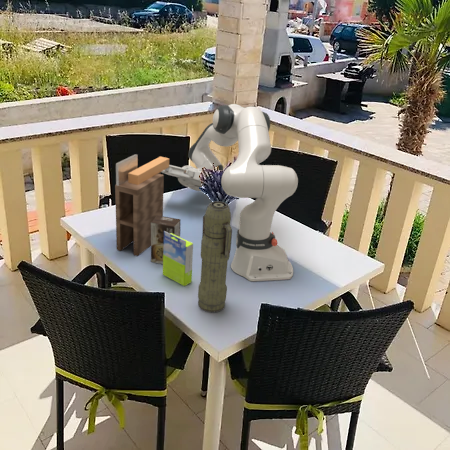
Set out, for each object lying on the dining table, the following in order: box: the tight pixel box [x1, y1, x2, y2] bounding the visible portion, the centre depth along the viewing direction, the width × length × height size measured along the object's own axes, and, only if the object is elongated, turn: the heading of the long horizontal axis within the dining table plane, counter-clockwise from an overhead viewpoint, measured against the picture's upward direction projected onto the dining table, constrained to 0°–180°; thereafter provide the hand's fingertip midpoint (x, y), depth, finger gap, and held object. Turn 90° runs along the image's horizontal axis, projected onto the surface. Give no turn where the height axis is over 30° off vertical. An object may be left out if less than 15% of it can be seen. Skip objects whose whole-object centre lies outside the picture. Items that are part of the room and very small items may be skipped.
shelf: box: [114, 173, 165, 257], centre depth 192 cm, size 18×9×26 cm, turn 156°
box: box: [162, 231, 194, 287], centre depth 174 cm, size 10×4×17 cm, turn 51°
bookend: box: [115, 153, 139, 186], centre depth 184 cm, size 12×1×8 cm, turn 156°
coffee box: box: [150, 215, 181, 265], centre depth 185 cm, size 9×6×16 cm
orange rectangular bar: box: [128, 156, 170, 185], centre depth 191 cm, size 22×4×4 cm, turn 156°
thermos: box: [197, 200, 233, 313], centre depth 158 cm, size 9×12×35 cm
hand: (175, 169), depth 210 cm, fingers open, 8 cm apart
